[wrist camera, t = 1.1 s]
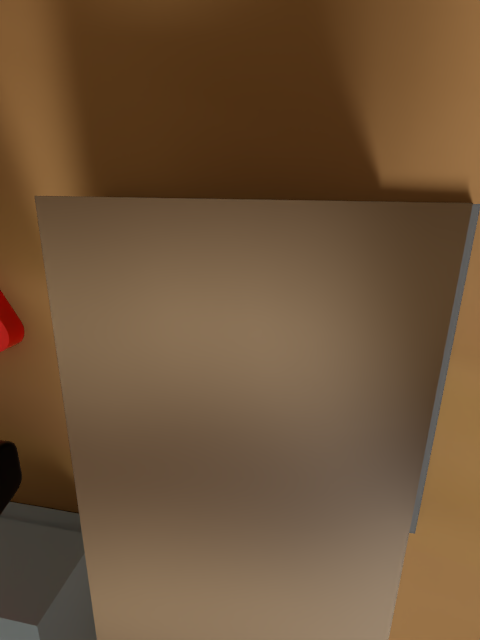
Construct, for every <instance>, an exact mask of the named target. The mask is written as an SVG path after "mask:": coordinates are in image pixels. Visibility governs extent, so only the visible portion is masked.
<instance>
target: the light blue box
mask: <svg viewBox="0 0 480 640" xmlns="http://www.w3.org/2000/svg"><path fill="white" fill-rule="evenodd" d="M0 640H97V637H96V630H95V623H94V616H93V608H92V601H91V594H90V587H89V580H88V573H87V566H86V559H85V551H84V544H83V537H82V530H81V523H80V516H79V514H78V513H72V512H66V511H61V510H55V509H49V508H43V507H37V506H32V505H26V504H20V503H14V502H9V503H8V505H7V506H6V508H5V509H4V511H3V512H2V514H1V515H0Z"/></svg>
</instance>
